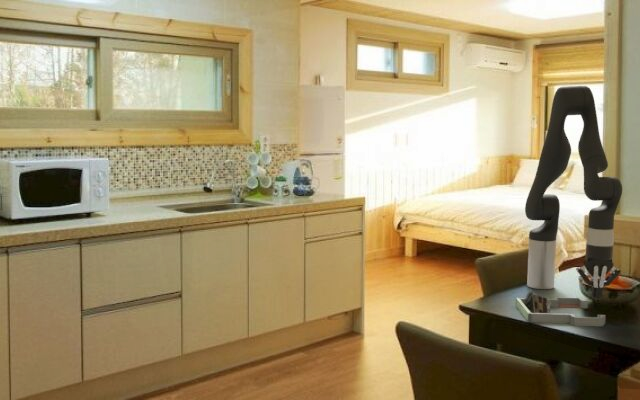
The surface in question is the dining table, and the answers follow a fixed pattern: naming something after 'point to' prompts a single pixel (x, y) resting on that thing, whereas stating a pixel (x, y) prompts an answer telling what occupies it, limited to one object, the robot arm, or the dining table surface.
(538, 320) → the track
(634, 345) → the dining table surface
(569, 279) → the dining table surface
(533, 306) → the marbled cake slice
